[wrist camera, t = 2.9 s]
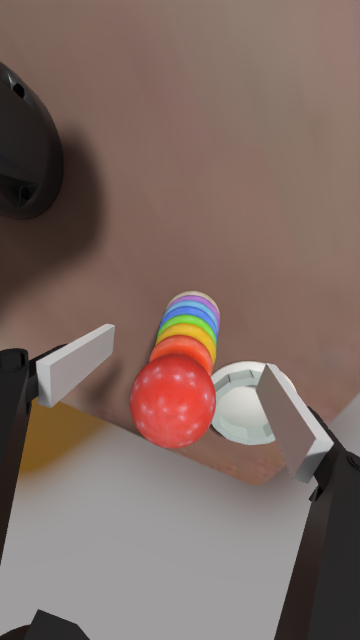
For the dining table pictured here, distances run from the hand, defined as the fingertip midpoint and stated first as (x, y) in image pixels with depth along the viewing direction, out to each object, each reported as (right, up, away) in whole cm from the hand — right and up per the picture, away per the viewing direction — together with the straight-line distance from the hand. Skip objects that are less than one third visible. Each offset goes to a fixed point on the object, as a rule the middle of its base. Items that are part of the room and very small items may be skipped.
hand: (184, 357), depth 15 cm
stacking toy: (+1, +4, +11) cm, 12 cm away
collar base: (+11, -10, +14) cm, 20 cm away
